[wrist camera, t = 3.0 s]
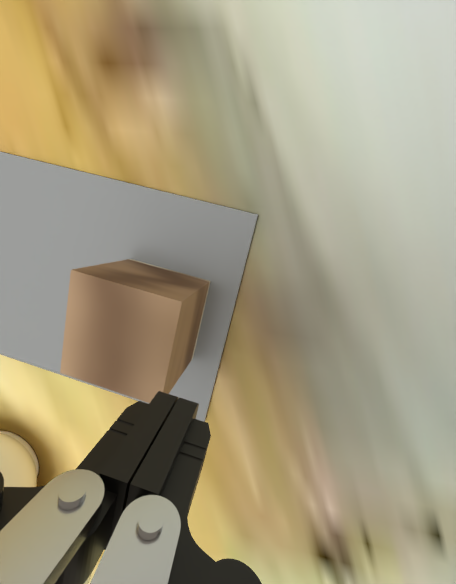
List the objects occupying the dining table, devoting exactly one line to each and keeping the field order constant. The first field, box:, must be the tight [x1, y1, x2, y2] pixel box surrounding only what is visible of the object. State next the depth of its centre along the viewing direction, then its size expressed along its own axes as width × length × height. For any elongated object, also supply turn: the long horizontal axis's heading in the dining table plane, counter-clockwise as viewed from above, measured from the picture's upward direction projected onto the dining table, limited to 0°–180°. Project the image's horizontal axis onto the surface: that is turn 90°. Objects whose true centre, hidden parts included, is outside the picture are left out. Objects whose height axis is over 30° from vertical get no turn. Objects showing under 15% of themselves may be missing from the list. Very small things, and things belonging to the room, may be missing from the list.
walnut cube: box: [60, 259, 211, 403], centre depth 18 cm, size 6×6×6 cm
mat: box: [0, 152, 258, 422], centre depth 21 cm, size 22×16×1 cm
